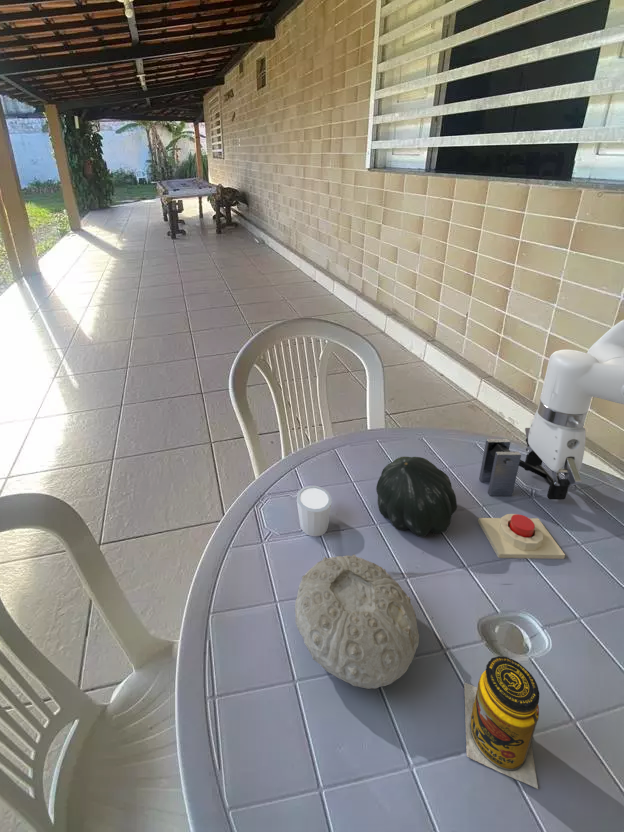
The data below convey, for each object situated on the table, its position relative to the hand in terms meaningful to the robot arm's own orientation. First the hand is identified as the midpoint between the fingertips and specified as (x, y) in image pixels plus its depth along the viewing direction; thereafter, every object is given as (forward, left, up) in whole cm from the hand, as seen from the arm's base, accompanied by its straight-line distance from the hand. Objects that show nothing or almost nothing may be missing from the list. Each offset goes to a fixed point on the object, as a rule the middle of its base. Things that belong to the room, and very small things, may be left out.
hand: (543, 483), depth 88 cm
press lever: (+6, 0, +4) cm, 7 cm away
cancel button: (+11, +13, +1) cm, 17 cm away
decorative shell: (+44, +30, -3) cm, 54 cm away
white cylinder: (+48, +9, -3) cm, 49 cm away
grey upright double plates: (+9, 0, -2) cm, 10 cm away
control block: (+11, +13, -2) cm, 18 cm away
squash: (+28, +7, -3) cm, 29 cm away
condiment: (+28, +41, -3) cm, 50 cm away
